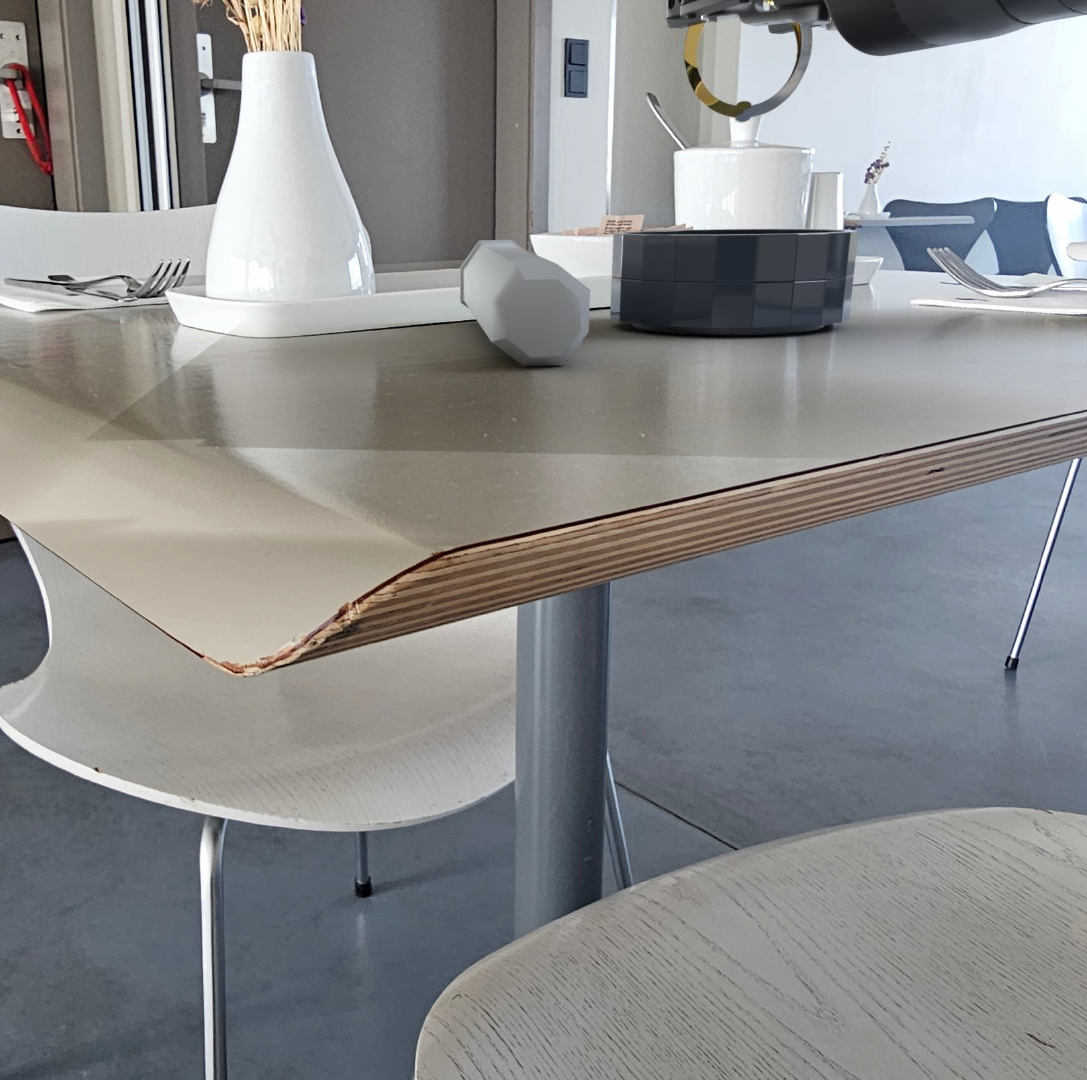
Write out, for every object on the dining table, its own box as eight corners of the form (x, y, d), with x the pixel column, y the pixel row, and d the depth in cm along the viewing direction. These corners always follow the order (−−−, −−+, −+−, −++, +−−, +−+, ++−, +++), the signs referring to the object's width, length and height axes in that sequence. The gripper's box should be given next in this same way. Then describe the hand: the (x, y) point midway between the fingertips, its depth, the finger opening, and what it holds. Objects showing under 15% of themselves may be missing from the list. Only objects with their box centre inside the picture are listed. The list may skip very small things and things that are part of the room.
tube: (620, 279, 53) (550, 253, 76) (508, 241, 52) (472, 226, 75) (579, 393, 54) (523, 333, 78) (471, 358, 54) (447, 308, 77)
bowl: (745, 311, 81) (751, 227, 79) (899, 329, 69) (910, 230, 67) (568, 322, 76) (570, 232, 74) (702, 343, 63) (708, 236, 62)
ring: (802, 122, 68) (815, -35, 65) (809, 118, 65) (822, -47, 62) (679, 125, 69) (687, -29, 66) (680, 121, 66) (689, -41, 63)
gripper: (1081, -131, 54) (827, -56, 68) (840, -165, 48) (618, -76, 62) (1055, 51, 56) (815, 86, 71) (823, 38, 51) (613, 79, 65)
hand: (723, 10), depth 66 cm, fingers closed on ring, 6 cm apart
